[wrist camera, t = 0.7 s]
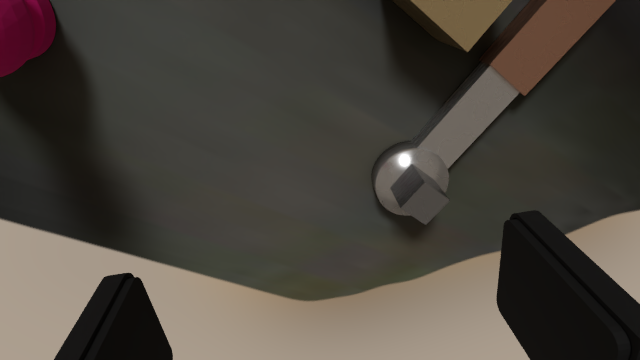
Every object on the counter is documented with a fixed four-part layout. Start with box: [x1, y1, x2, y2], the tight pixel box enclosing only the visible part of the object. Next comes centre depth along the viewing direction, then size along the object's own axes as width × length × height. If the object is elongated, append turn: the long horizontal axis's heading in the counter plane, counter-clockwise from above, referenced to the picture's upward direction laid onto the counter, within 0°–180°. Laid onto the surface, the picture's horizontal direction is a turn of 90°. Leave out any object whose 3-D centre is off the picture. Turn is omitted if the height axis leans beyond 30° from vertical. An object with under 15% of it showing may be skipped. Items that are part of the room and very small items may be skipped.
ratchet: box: [371, 0, 616, 225], centre depth 31 cm, size 24×6×6 cm, turn 143°
